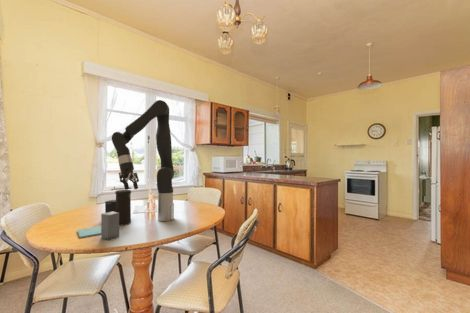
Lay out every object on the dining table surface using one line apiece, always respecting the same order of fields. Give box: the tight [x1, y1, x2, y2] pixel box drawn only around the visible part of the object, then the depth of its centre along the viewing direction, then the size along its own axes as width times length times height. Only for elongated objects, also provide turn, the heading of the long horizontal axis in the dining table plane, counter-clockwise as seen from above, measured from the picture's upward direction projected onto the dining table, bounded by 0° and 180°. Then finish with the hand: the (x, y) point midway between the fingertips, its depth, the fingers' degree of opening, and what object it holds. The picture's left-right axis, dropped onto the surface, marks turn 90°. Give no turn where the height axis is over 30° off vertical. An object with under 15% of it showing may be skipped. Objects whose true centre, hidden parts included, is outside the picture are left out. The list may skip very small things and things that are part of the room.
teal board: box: [77, 225, 101, 239], centre depth 120 cm, size 13×13×1 cm
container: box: [114, 189, 132, 226], centre depth 136 cm, size 9×9×20 cm
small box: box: [104, 199, 116, 213], centre depth 144 cm, size 13×7×12 cm, turn 84°
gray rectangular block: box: [100, 211, 120, 241], centre depth 112 cm, size 6×6×12 cm
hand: (131, 189), depth 136 cm, fingers open, 8 cm apart
